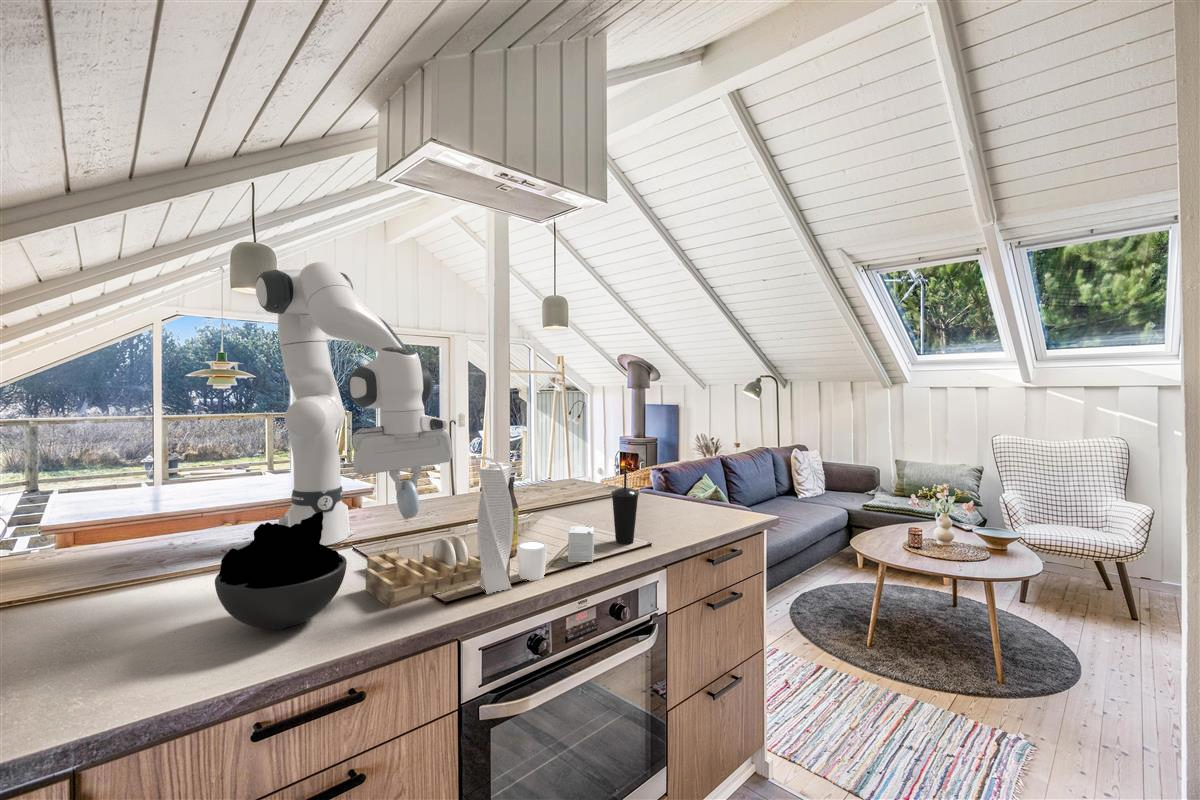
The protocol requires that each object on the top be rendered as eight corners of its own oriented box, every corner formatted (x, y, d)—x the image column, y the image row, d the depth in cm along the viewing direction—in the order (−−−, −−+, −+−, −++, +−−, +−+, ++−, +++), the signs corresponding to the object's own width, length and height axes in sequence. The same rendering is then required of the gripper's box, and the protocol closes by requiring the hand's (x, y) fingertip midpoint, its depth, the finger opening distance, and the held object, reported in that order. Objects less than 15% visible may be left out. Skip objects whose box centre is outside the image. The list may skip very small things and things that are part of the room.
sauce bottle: (512, 560, 129) (513, 479, 129) (488, 558, 131) (488, 477, 130) (521, 551, 136) (522, 474, 135) (498, 549, 137) (499, 473, 136)
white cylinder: (510, 576, 119) (510, 545, 119) (533, 568, 124) (534, 538, 124) (529, 584, 114) (530, 552, 114) (553, 575, 119) (553, 545, 119)
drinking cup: (620, 536, 150) (621, 465, 150) (643, 541, 146) (644, 468, 145) (605, 542, 144) (605, 469, 144) (628, 548, 140) (629, 472, 139)
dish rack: (365, 590, 110) (365, 547, 110) (452, 567, 124) (453, 528, 124) (390, 608, 101) (390, 561, 101) (481, 581, 116) (481, 540, 115)
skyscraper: (481, 597, 107) (482, 459, 106) (469, 585, 113) (470, 454, 112) (518, 590, 111) (519, 456, 110) (505, 578, 117) (505, 452, 116)
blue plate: (396, 511, 115) (396, 476, 114) (401, 510, 116) (402, 475, 115) (412, 523, 110) (413, 486, 108) (418, 522, 110) (419, 485, 109)
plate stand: (367, 568, 122) (367, 556, 122) (392, 562, 126) (392, 551, 126) (386, 581, 115) (386, 568, 115) (412, 574, 119) (412, 562, 119)
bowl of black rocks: (215, 665, 81) (214, 542, 80) (215, 617, 97) (213, 514, 96) (357, 630, 92) (357, 523, 92) (336, 592, 108) (335, 501, 108)
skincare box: (570, 554, 134) (570, 525, 134) (594, 555, 134) (594, 526, 134) (567, 562, 128) (568, 532, 128) (592, 563, 128) (593, 533, 128)
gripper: (357, 429, 102) (361, 501, 103) (454, 420, 116) (457, 483, 117) (345, 428, 107) (350, 496, 107) (440, 419, 121) (443, 479, 122)
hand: (406, 489), depth 112 cm, fingers closed on blue plate, 1 cm apart
